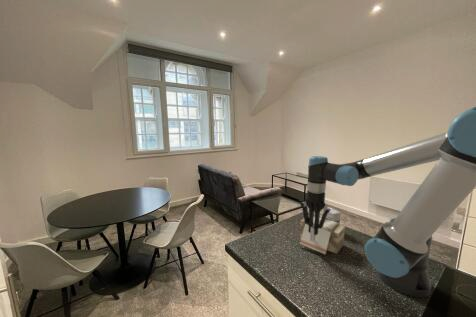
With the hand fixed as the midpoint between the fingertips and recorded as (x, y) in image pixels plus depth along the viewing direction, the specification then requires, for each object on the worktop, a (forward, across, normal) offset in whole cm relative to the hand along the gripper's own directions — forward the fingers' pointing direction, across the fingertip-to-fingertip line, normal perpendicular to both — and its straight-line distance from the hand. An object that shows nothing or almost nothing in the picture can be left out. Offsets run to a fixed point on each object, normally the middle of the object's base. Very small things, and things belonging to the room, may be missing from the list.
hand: (312, 239), depth 90 cm
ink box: (+6, +1, -26) cm, 27 cm away
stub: (0, 0, -2) cm, 2 cm away
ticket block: (+6, 0, -10) cm, 12 cm away
